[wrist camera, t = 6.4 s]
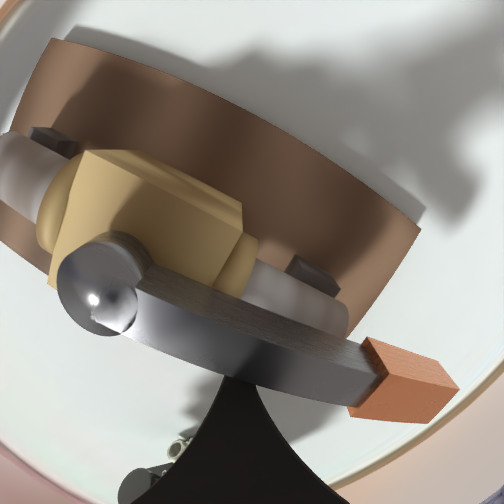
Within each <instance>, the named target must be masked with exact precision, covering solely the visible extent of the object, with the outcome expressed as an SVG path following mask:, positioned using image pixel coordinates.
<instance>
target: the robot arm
mask: <svg viewBox="0 0 504 504" xmlns="http://www.w3.org/2000/svg"><path fill="white" fill-rule="evenodd" d="M130 504H350V503H349V502H348V501H346V500H345V499H344V498H342V497H341V496H339V495H338V494H337V493H336V492H335V491H334V490H332V489H331V488H330V487H329V486H328V485H327V484H325V483H324V482H323V481H322V480H321V479H320V478H319V477H318V476H317V475H316V474H315V473H314V472H313V471H312V470H311V469H310V468H309V467H308V466H307V465H306V464H305V463H304V462H303V461H302V460H301V458H300V457H299V456H298V455H297V454H296V453H295V451H294V450H293V449H292V448H291V446H290V445H289V444H288V443H287V441H286V440H285V439H284V437H283V436H282V434H281V433H280V432H279V430H278V429H277V427H276V425H275V424H274V422H273V421H272V419H271V417H270V416H269V414H268V412H267V410H266V408H265V406H264V404H263V402H262V400H261V398H260V396H259V394H258V392H257V389H256V385H255V384H251V383H248V382H245V381H241V380H238V379H235V378H232V377H229V376H226V375H224V378H223V381H222V383H221V386H220V388H219V391H218V393H217V395H216V397H215V400H214V402H213V404H212V406H211V408H210V410H209V412H208V414H207V416H206V417H205V419H204V421H203V423H202V424H201V426H200V428H199V429H198V431H197V433H196V434H195V436H194V437H193V439H192V440H191V442H190V443H189V445H188V446H187V447H186V449H185V450H184V451H183V453H182V454H181V455H180V456H179V458H178V459H177V460H176V461H175V462H174V464H173V465H172V466H171V467H170V468H169V469H168V470H167V471H166V473H165V474H164V475H163V476H162V477H160V478H159V479H158V480H157V481H156V482H155V483H154V484H153V485H152V486H151V487H150V488H149V489H148V490H147V491H145V492H144V493H143V494H142V495H141V496H139V497H138V498H137V499H135V500H134V501H133V502H131V503H130ZM480 504H504V485H503V486H502V487H501V489H499V490H498V491H497V492H496V493H494V494H493V495H491V496H490V497H488V498H487V499H486V500H484V501H483V502H481V503H480Z"/></svg>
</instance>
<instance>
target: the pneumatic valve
mask: <svg viewBox="0 0 504 504" xmlns="http://www.w3.org/2000/svg"><path fill="white" fill-rule="evenodd" d="M192 439H193V437H192V438H190V439H189V441H186V442H184V441H182V440H178V441H175V442H173V443H172V444H171V445H170V446H169V448H168V451H167V456H168V458H169V460H170V461H172V462H171V463H168V464H164V465H160V466H156V467H152V468H147V469H145V468H137V469H135V470H133V471H132V472H130V473H129V474H128V475H127V476H126V477H125V479H124V480H123V482H122V484H121V486H120V488H119V492H118V503H119V504H130V503H131V502H133V501H134V500H135V499H137V498H138V497H139V496H141V495H142V494H143V493H144V492H145V491H147V490H148V489H149V488H150V487H151V486H152V485H153V484H154V483H155V482H156V481H157V480H158V479H159V478H160V477H162V476H163V475H164V474H165V473H166V471H167V470H168V469H169V468H170V467H171V466H172V465H173V464H174V462H175V461H176V460H177V459H178V458H179V456H180V455H181V454H182V453H183V451H184V450H185V449H186V447H187V446H188V445H189V443H190V442H191V440H192Z"/></svg>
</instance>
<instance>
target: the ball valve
mask: <svg viewBox="0 0 504 504" xmlns="http://www.w3.org/2000/svg"><path fill="white" fill-rule="evenodd" d="M106 231H121V232H125V233H128V234H130V235H132V236H134V237H135V238H136V239H138V240H139V241H140V242H141V243H142V244H143V245H144V246H145V247H146V248H147V250H148V251H149V253H150V255H151V257H152V259H153V262H155V263H157V264H159V265H161V266H164V267H166V268H168V269H170V270H173V271H175V272H177V273H179V274H182V275H184V276H186V277H188V278H191V279H193V280H195V281H198V282H200V283H202V284H205V285H207V286H209V287H212V288H214V289H217V290H219V291H221V292H224V293H226V294H229V295H231V296H233V297H236V298H238V299H241V300H243V301H246V302H248V303H251V304H253V305H256V306H258V307H261V308H263V309H266V310H268V311H271V312H274V313H276V314H279V315H281V316H284V317H287V318H289V319H292V320H294V321H297V322H300V323H302V324H305V325H308V326H311V327H313V328H316V329H319V330H321V331H324V332H327V333H330V334H333V335H335V336H338V337H341V338H344V339H346V338H347V337H348V336H349V335H350V333H351V332H352V331H353V330H354V328H355V327H356V326H357V324H358V323H359V322H360V320H361V319H362V318H363V316H364V315H365V314H366V312H367V311H368V310H369V308H370V307H371V306H372V304H373V303H374V302H375V300H376V299H377V297H378V296H379V295H380V293H381V292H382V290H383V289H384V287H385V286H386V285H387V283H388V282H389V280H390V279H391V277H392V276H393V274H394V273H395V271H396V270H397V268H398V267H399V265H400V263H401V262H402V260H403V259H404V257H405V256H406V254H407V252H408V251H409V249H410V248H411V246H412V244H413V243H414V241H415V239H416V238H417V236H418V234H419V233H420V231H421V228H419V227H418V226H417V225H416V224H415V223H414V222H412V221H411V220H410V219H409V218H408V217H406V216H405V215H404V214H403V213H401V212H400V211H399V210H398V209H396V208H395V207H394V206H393V205H391V204H390V203H389V202H388V201H386V200H385V199H384V198H382V197H381V196H380V195H378V194H377V193H376V192H374V191H373V190H372V189H370V188H369V187H368V186H366V185H365V184H364V183H362V182H361V181H359V180H358V179H357V178H355V177H354V176H352V175H351V174H350V173H348V172H347V171H345V170H344V169H342V168H341V167H339V166H338V165H337V164H335V163H334V162H332V161H331V160H329V159H328V158H326V157H325V156H323V155H321V154H320V153H318V152H317V151H315V150H314V149H312V148H311V147H309V146H307V145H306V144H304V143H302V142H301V141H299V140H298V139H296V138H294V137H293V136H291V135H289V134H288V133H286V132H284V131H282V130H281V129H279V128H277V127H276V126H274V125H272V124H270V123H269V122H267V121H265V120H263V119H261V118H259V117H258V116H256V115H254V114H252V113H250V112H248V111H246V110H245V109H243V108H241V107H239V106H237V105H235V104H233V103H231V102H229V101H227V100H225V99H223V98H221V97H219V96H217V95H215V94H212V93H210V92H208V91H206V90H204V89H202V88H200V87H197V86H195V85H193V84H191V83H188V82H186V81H184V80H181V79H179V78H177V77H174V76H172V75H169V74H167V73H164V72H162V71H159V70H157V69H154V68H152V67H149V66H146V65H144V64H141V63H138V62H135V61H132V60H130V59H127V58H124V57H121V56H118V55H115V54H111V53H108V52H105V51H102V50H98V49H95V48H91V47H88V46H84V45H80V44H76V43H72V42H68V41H64V40H60V39H55V38H51V40H50V42H49V43H48V45H47V47H46V49H45V50H44V52H43V54H42V56H41V58H40V60H39V62H38V63H37V65H36V67H35V69H34V71H33V73H32V76H31V78H30V80H29V82H28V84H27V86H26V89H25V91H24V93H23V96H22V98H21V100H20V103H19V105H18V108H17V111H16V113H15V116H14V119H13V121H12V124H11V127H10V130H9V132H7V133H4V134H3V135H1V136H0V241H2V242H3V243H4V244H5V245H7V246H8V247H9V248H10V249H12V250H13V251H14V252H16V253H17V254H18V255H20V256H21V257H22V258H24V259H25V260H27V261H28V262H29V263H31V264H32V265H34V266H35V267H36V268H38V269H39V270H41V271H42V272H44V273H45V274H46V275H48V282H47V284H49V285H50V286H51V287H53V288H54V289H56V290H57V283H56V279H57V272H58V268H59V266H60V264H61V262H62V261H63V259H64V258H65V257H66V256H67V255H68V254H70V253H71V252H73V251H74V250H76V249H77V248H79V247H80V246H82V245H83V244H85V243H86V242H88V241H89V240H91V239H92V238H94V237H96V236H97V235H99V234H101V233H103V232H106Z"/></svg>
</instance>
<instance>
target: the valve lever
mask: <svg viewBox="0 0 504 504" xmlns="http://www.w3.org/2000/svg"><path fill="white" fill-rule="evenodd" d="M56 283H57V291H58V295H59V298H60V300H61V303H62V305H63V307H64V308H65V310H66V312H67V313H68V314H69V316H70V317H71V318H72V319H73V320H74V321H75V322H76V323H77V324H78V325H80V326H81V327H82V328H84V329H86V330H87V331H89V332H91V333H94V334H97V335H101V336H116V335H120V334H123V335H125V336H127V337H129V338H131V339H134V340H136V341H138V342H140V343H143V344H145V345H147V346H149V347H152V348H154V349H156V350H159V351H161V352H164V353H166V354H169V355H171V356H173V357H176V358H179V359H181V360H184V361H186V362H189V363H192V364H194V365H197V366H200V367H203V368H205V369H208V370H211V371H214V372H217V373H220V374H223V375H226V376H229V377H232V378H235V379H238V380H241V381H245V382H248V383H251V384H255V385H258V386H262V387H265V388H269V389H272V390H276V391H280V392H284V393H288V394H292V395H296V396H300V397H304V398H308V399H313V400H317V401H322V402H327V403H332V404H337V405H342V406H347V409H348V411H349V414H350V417H356V418H364V419H372V420H381V421H391V422H404V423H421V424H428V423H429V422H430V421H431V420H432V419H433V418H434V417H435V416H436V415H437V414H438V413H439V412H440V411H441V410H442V409H443V408H444V406H445V405H446V404H447V403H448V402H449V401H450V400H451V399H452V398H453V397H454V395H455V394H456V393H457V392H458V391H459V390H460V389H459V388H458V386H457V385H456V384H455V383H454V381H453V380H452V379H451V377H450V376H449V375H448V374H447V372H446V371H445V370H444V369H443V367H442V366H441V365H440V364H439V362H438V361H436V360H433V359H430V358H427V357H424V356H421V355H418V354H415V353H412V352H409V351H407V350H404V349H401V348H398V347H395V346H392V345H389V344H387V343H384V342H381V341H378V340H375V339H373V338H370V337H366V338H365V340H364V341H363V342H362V344H358V343H355V342H353V341H350V340H347V339H344V338H341V337H338V336H335V335H333V334H330V333H327V332H324V331H321V330H319V329H316V328H313V327H311V326H308V325H305V324H302V323H300V322H297V321H294V320H292V319H289V318H287V317H284V316H281V315H279V314H276V313H274V312H271V311H268V310H266V309H263V308H261V307H258V306H256V305H253V304H251V303H248V302H246V301H243V300H241V299H238V298H236V297H233V296H231V295H229V294H226V293H224V292H221V291H219V290H217V289H214V288H212V287H209V286H207V285H205V284H202V283H200V282H198V281H195V280H193V279H191V278H188V277H186V276H184V275H182V274H179V273H177V272H175V271H173V270H170V269H168V268H166V267H164V266H161V265H159V264H157V263H155V262H153V259H152V257H151V255H150V253H149V251H148V250H147V248H146V247H145V246H144V245H143V244H142V243H141V242H140V241H139V240H138V239H136V238H135V237H134V236H132V235H130V234H128V233H125V232H121V231H106V232H103V233H101V234H99V235H97V236H96V237H94V238H92V239H91V240H89V241H88V242H86V243H85V244H83V245H82V246H80V247H79V248H77V249H76V250H74V251H73V252H71V253H70V254H68V255H67V256H66V257H65V258H64V259H63V261H62V262H61V264H60V266H59V268H58V272H57V279H56Z"/></svg>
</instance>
